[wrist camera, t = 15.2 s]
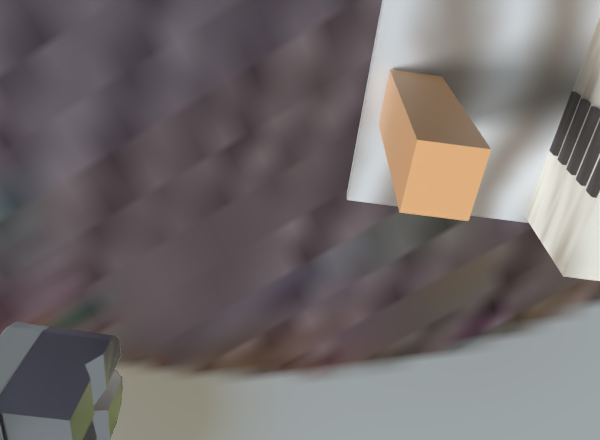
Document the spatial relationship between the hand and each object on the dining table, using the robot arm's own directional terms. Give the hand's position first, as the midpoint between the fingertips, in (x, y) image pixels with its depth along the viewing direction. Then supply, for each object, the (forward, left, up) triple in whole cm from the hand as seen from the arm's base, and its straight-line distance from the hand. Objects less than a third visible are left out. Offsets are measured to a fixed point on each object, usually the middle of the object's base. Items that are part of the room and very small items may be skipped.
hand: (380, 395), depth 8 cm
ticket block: (+12, +9, -33) cm, 36 cm away
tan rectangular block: (+7, +2, -32) cm, 33 cm away
